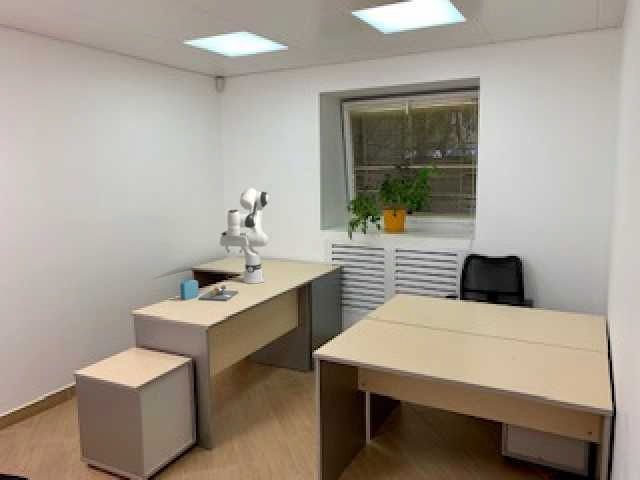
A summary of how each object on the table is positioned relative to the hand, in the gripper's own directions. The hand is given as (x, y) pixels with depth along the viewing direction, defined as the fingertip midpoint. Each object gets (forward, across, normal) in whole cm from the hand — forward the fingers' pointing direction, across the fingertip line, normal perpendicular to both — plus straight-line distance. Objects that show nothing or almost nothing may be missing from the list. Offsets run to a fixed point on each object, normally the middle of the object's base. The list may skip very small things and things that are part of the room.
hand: (234, 252), depth 342 cm
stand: (+30, +9, +8) cm, 32 cm away
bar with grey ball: (+28, +9, +8) cm, 31 cm away
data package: (+31, +27, +16) cm, 44 cm away
